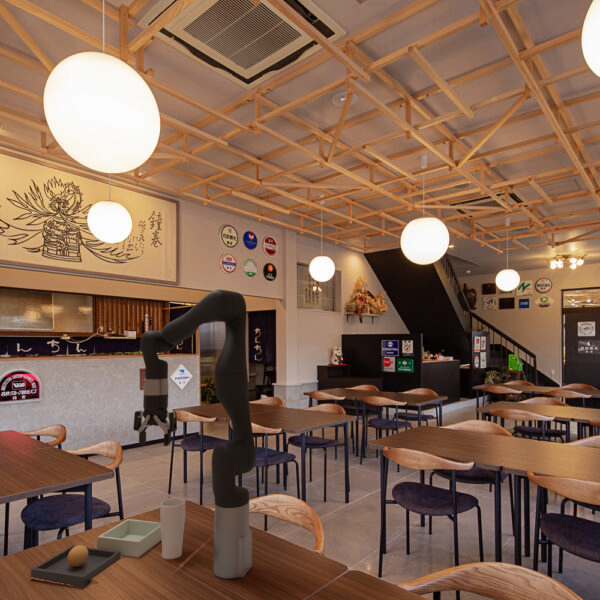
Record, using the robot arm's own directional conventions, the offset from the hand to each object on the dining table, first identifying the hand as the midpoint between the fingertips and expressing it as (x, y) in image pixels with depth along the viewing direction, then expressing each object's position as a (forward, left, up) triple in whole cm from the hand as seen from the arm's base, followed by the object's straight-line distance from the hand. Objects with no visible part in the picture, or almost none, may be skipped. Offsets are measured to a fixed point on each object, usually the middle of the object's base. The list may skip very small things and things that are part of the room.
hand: (154, 444), depth 138 cm
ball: (+8, +22, -27) cm, 36 cm away
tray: (+8, +22, -28) cm, 37 cm away
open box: (+2, +7, -28) cm, 29 cm away
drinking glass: (-13, +10, -28) cm, 33 cm away
